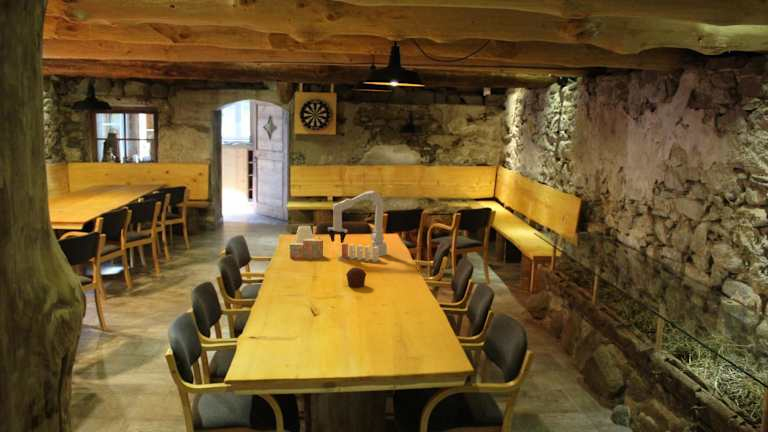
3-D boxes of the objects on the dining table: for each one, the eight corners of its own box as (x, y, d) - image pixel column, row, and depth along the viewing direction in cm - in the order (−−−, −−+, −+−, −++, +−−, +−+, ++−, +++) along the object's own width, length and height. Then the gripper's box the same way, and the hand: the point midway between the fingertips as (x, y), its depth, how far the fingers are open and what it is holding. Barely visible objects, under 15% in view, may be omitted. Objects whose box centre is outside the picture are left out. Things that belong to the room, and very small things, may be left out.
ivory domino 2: (363, 258, 401) (363, 245, 399) (359, 260, 396) (359, 246, 394) (360, 258, 401) (360, 244, 400) (357, 259, 397) (356, 246, 395)
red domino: (347, 256, 405) (347, 243, 403) (344, 258, 400) (344, 245, 399) (345, 256, 406) (345, 243, 404) (341, 258, 401) (341, 244, 399)
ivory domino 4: (378, 260, 396) (378, 246, 395) (375, 261, 392) (375, 248, 390) (375, 259, 397) (375, 246, 396) (372, 261, 393) (372, 247, 391)
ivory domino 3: (370, 259, 398) (370, 245, 397) (367, 260, 394) (367, 247, 392) (367, 258, 399) (367, 245, 398) (364, 260, 395) (364, 247, 393)
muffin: (368, 288, 335) (368, 270, 333) (349, 289, 332) (349, 271, 330) (363, 282, 346) (363, 265, 344) (344, 283, 343) (344, 266, 341)
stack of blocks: (289, 258, 403) (289, 240, 401) (291, 256, 409) (291, 238, 407) (321, 259, 402) (321, 240, 400) (323, 256, 408) (323, 238, 406)
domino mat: (380, 260, 397) (380, 259, 397) (375, 263, 390) (375, 262, 390) (342, 256, 408) (342, 255, 408) (336, 259, 401) (336, 258, 401)
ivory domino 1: (355, 257, 403) (355, 244, 401) (352, 259, 398) (352, 245, 397) (352, 257, 403) (352, 244, 402) (349, 258, 399) (349, 245, 397)
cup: (317, 246, 440) (317, 227, 437) (300, 248, 432) (300, 229, 430) (308, 243, 451) (308, 224, 448) (292, 245, 443) (291, 226, 441)
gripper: (324, 221, 401) (325, 241, 404) (342, 223, 394) (342, 244, 396) (331, 220, 407) (331, 240, 410) (349, 222, 400) (349, 242, 402)
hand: (337, 242), depth 403 cm, fingers open, 7 cm apart
